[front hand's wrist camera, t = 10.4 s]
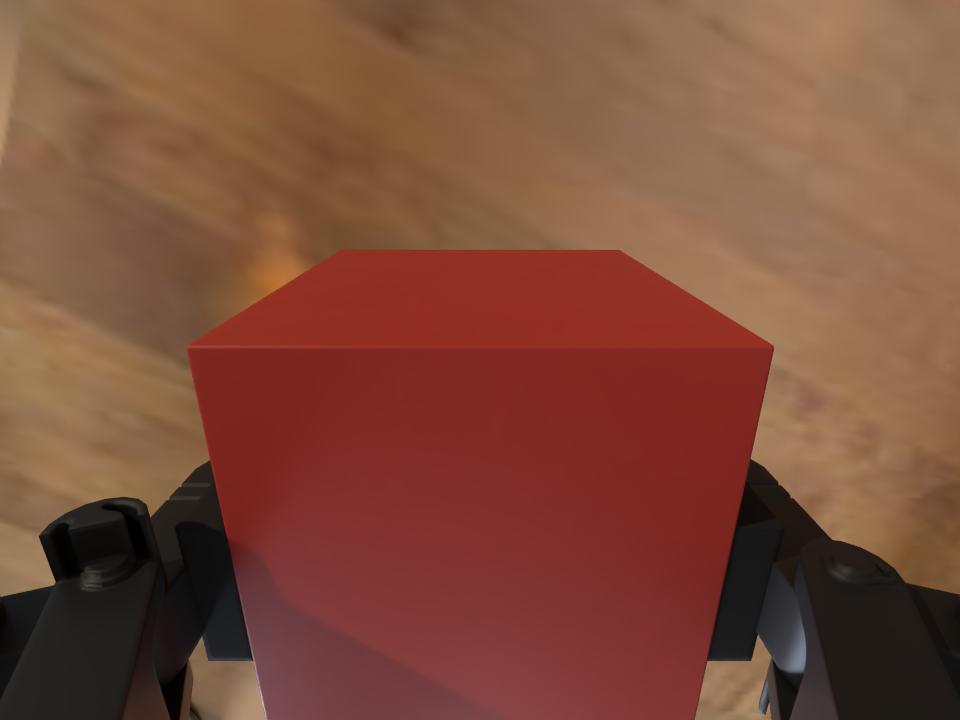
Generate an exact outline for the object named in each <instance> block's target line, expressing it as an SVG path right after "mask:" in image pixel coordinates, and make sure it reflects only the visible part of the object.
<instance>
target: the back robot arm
mask: <svg viewBox="0 0 960 720" xmlns="http://www.w3.org/2000/svg"><path fill="white" fill-rule="evenodd" d="M189 720H199V719H198V718H197V717H196V715H195V714H194V713H193V712H192V711H191V710H190V711H189Z"/></svg>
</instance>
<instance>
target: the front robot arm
mask: <svg viewBox="0 0 960 720" xmlns="http://www.w3.org/2000/svg"><path fill="white" fill-rule="evenodd" d="M39 538H40V541H41V544H42V546H43V549H44V552H45V554H46V557H47V560H48V562H49V565H50V568H51V570H52V573H53V576H54V578H55V581H56V583H55V585H53V586H49V587H45V588H40V589H35V590H31V591H26V592H22V593H17V594H12V595H8V596H3V597H0V720H189V711H190V703H191V694H192V686H193V675H192V669H191V665H190V661H189V657H190V655H191V654H192V652H193V650H194V649H195V647H196V645H197V644H198V642H199V640H200V638H201V637H203V641H204V645H205V649H206V653H207V657H208V661H253V657H252V652H251V647H250V643H249V638H248V633H247V629H246V624H245V619H244V615H243V610H242V605H241V601H240V596H239V591H238V587H237V582H236V577H235V573H234V568H233V563H232V559H231V554H230V549H229V545H228V540H227V535H226V531H225V526H224V521H223V517H222V512H221V507H220V502H219V498H218V493H217V488H216V484H215V479H214V474H213V470H212V465H211V460H210V461H208V462H206V463H205V464H203V465H201V466H200V467H198V468H197V469H195V470H194V472H193V473H192V474H191V475H190V476H189V477H188V478H187V479H186V480H185V481H184V482H183V483H182V487H179V488H178V489H177V490H176V491H175V492H174V493H173V494H172V495H171V496H170V500H167V501H166V502H165V503H164V504H163V505H162V506H161V507H160V508H159V509H158V510H157V511H156V512H155V514H154V515H153V516H152V517H151V518H150V515H149V512H148V508H147V505H146V504H145V503H143V502H142V501H141V500H139V499H135V498H128V497H119V498H109V499H104V500H100V501H96V502H93V503H89V504H86V505H83V506H81V507H79V508H77V509H74V510H72V511H70V512H68V513H66V514H64V515H63V516H61V517H60V518H58V519H57V520H55V521H54V522H52V523H51V524H49V525H48V526H47V527H46V529H45V530H44V531H43V532H42V533H41V534H40V535H39ZM758 635H759V636H760V638H761V640H762V641H763V643H764V645H765V646H766V648H767V650H768V652H769V653H770V655H771V657H772V658H771V661H770V665H769V669H768V672H767V676H766V679H765V683H764V687H763V690H762V694H761V698H760V702H759V708H758V712H759V713H762V714H765V715H766V711H767V707H768V704H769V702H770V710H771V718H772V720H960V595H959V594H954V593H949V592H945V591H940V590H935V589H931V588H926V587H922V586H917V585H912V584H908V583H905V582H904V580H903V579H902V578H901V577H900V575H899V574H898V573H897V571H896V570H895V569H894V568H893V567H892V566H890V565H889V564H888V563H886V562H885V561H884V560H883V559H881V558H880V557H878V556H876V555H874V554H872V553H870V552H869V551H867V550H865V549H863V548H861V547H858V546H855V545H851V544H848V543H845V542H842V541H835V540H832V539H831V538H830V537H829V536H828V535H827V534H826V533H825V532H824V531H823V530H822V529H821V528H820V526H819V525H818V524H817V523H816V522H815V521H814V520H813V519H812V518H811V517H810V516H809V515H808V514H807V513H806V511H805V510H804V509H803V508H802V507H801V506H800V505H799V504H798V503H797V502H796V501H795V500H794V499H793V498H790V494H789V493H788V492H787V491H786V490H785V489H784V488H783V487H782V486H781V485H778V482H777V480H776V479H775V478H774V477H773V476H772V475H771V474H770V473H769V472H768V471H767V470H766V469H765V468H764V467H763V466H761V465H760V464H758V463H756V462H755V461H753V460H751V459H750V463H749V468H748V473H747V477H746V482H745V487H744V491H743V496H742V501H741V505H740V510H739V515H738V519H737V524H736V529H735V533H734V538H733V543H732V547H731V552H730V557H729V561H728V566H727V571H726V575H725V580H724V585H723V589H722V594H721V599H720V603H719V608H718V613H717V617H716V622H715V627H714V631H713V636H712V641H711V645H710V650H709V655H708V659H707V661H751V659H752V655H753V651H754V647H755V643H756V640H757V636H758Z"/></svg>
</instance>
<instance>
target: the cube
mask: <svg viewBox="0 0 960 720" xmlns="http://www.w3.org/2000/svg"><path fill="white" fill-rule="evenodd" d="M773 351H774V346H773V345H772V344H770V343H768V342H767V341H765V340H764V339H762V338H760V337H759V336H757V335H756V334H754V333H752V332H751V331H749V330H747V329H746V328H744V327H743V326H741V325H739V324H738V323H736V322H735V321H733V320H731V319H730V318H728V317H726V316H725V315H723V314H722V313H720V312H718V311H717V310H715V309H714V308H712V307H710V306H709V305H707V304H705V303H704V302H702V301H701V300H699V299H697V298H696V297H694V296H693V295H691V294H689V293H688V292H686V291H685V290H683V289H681V288H680V287H678V286H676V285H675V284H673V283H672V282H670V281H668V280H667V279H665V278H664V277H662V276H660V275H659V274H657V273H655V272H654V271H652V270H651V269H649V268H647V267H646V266H644V265H643V264H641V263H639V262H638V261H636V260H635V259H633V258H631V257H630V256H628V255H626V254H625V253H623V252H622V251H620V250H340V251H339V252H337V253H335V254H334V255H332V256H331V257H329V258H327V259H326V260H324V261H323V262H321V263H319V264H318V265H316V266H315V267H313V268H311V269H310V270H308V271H306V272H305V273H303V274H302V275H300V276H298V277H297V278H295V279H294V280H292V281H290V282H289V283H287V284H286V285H284V286H282V287H281V288H279V289H278V290H276V291H274V292H273V293H271V294H269V295H268V296H266V297H265V298H263V299H261V300H260V301H258V302H257V303H255V304H253V305H252V306H250V307H249V308H247V309H245V310H244V311H242V312H241V313H239V314H237V315H236V316H234V317H233V318H231V319H229V320H228V321H226V322H224V323H223V324H221V325H220V326H218V327H216V328H215V329H213V330H212V331H210V332H208V333H207V334H205V335H204V336H202V337H200V338H199V339H197V340H196V341H194V342H192V343H191V344H189V345H188V346H187V353H188V358H189V362H190V367H191V372H192V376H193V381H194V386H195V390H196V395H197V400H198V404H199V409H200V414H201V418H202V423H203V428H204V432H205V437H206V442H207V446H208V451H209V456H210V460H211V465H212V470H213V474H214V479H215V484H216V488H217V493H218V498H219V502H220V507H221V512H222V517H223V521H224V526H225V531H226V535H227V540H228V545H229V549H230V554H231V559H232V563H233V568H234V573H235V577H236V582H237V587H238V591H239V596H240V601H241V605H242V610H243V615H244V619H245V624H246V629H247V633H248V638H249V643H250V647H251V652H252V657H253V661H254V666H255V671H256V675H257V680H258V685H259V689H260V694H261V699H262V704H263V708H264V713H265V718H266V720H695V715H696V710H697V706H698V701H699V697H700V692H701V687H702V683H703V678H704V673H705V669H706V664H707V659H708V655H709V650H710V645H711V641H712V636H713V631H714V627H715V622H716V617H717V613H718V608H719V603H720V599H721V594H722V589H723V585H724V580H725V575H726V571H727V566H728V561H729V557H730V552H731V547H732V543H733V538H734V533H735V529H736V524H737V519H738V515H739V510H740V505H741V501H742V496H743V491H744V487H745V482H746V477H747V473H748V468H749V463H750V459H751V454H752V449H753V445H754V440H755V435H756V431H757V426H758V421H759V417H760V412H761V407H762V403H763V398H764V393H765V389H766V384H767V379H768V375H769V370H770V365H771V361H772V356H773Z"/></svg>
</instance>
